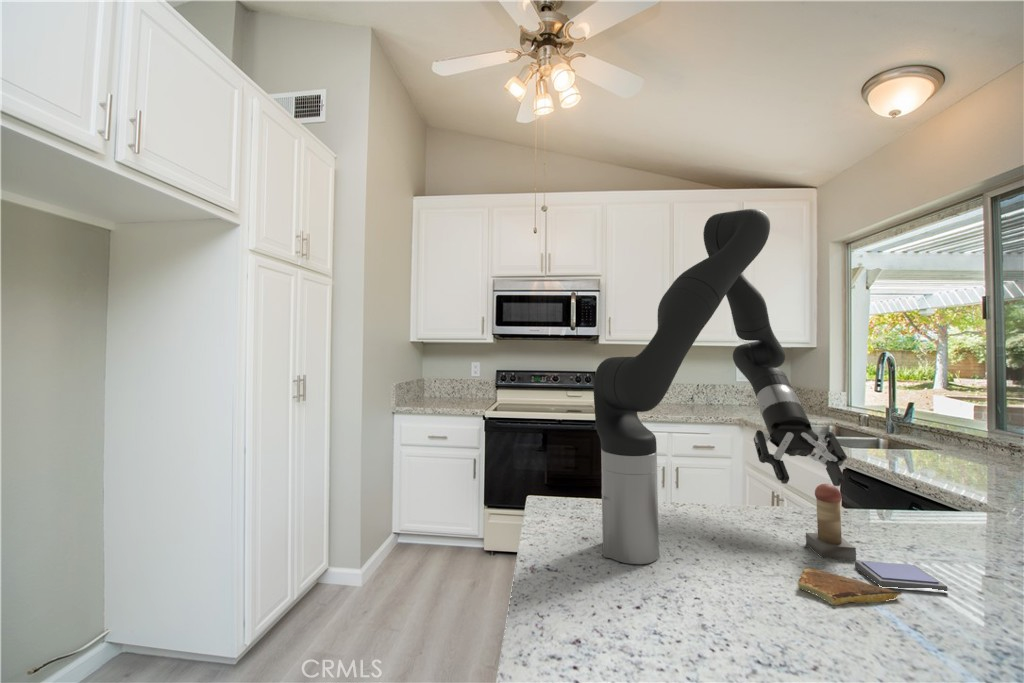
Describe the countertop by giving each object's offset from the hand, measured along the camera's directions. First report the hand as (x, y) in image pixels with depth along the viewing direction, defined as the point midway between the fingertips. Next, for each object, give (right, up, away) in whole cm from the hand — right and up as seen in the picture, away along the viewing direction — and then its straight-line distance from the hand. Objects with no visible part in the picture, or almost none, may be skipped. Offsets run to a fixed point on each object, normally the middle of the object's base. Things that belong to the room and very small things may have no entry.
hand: (812, 482), depth 75 cm
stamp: (-1, -10, -5) cm, 11 cm away
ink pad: (+2, -9, -14) cm, 17 cm away
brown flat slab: (-8, -10, -16) cm, 21 cm away
